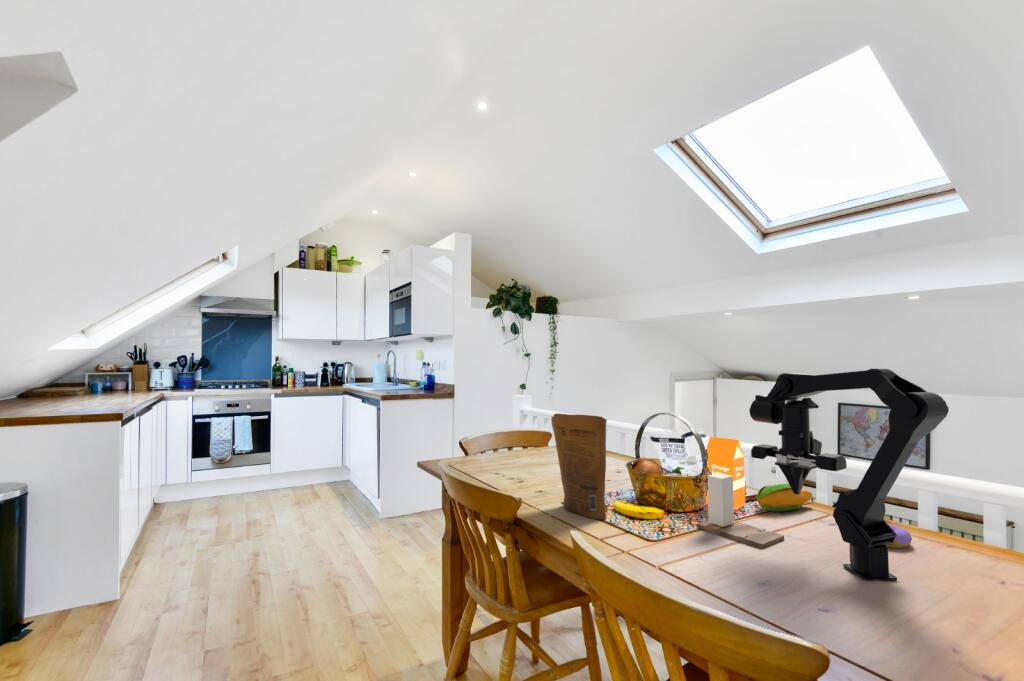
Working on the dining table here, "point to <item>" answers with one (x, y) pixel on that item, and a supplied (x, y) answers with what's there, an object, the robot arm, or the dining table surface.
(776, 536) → the brown flat wooden board
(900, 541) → the donut
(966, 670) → the dining table surface
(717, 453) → the orange juice
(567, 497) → the pancake mix bag
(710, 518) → the white tall block
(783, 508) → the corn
